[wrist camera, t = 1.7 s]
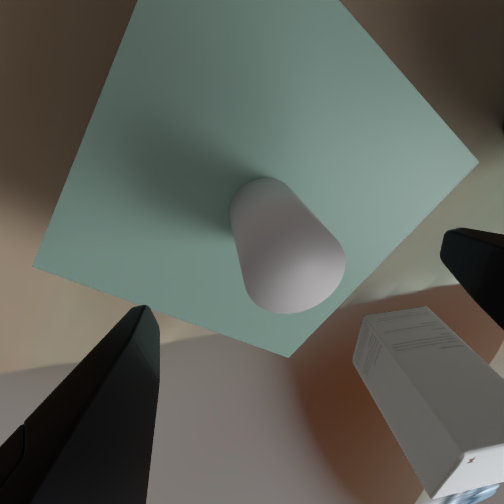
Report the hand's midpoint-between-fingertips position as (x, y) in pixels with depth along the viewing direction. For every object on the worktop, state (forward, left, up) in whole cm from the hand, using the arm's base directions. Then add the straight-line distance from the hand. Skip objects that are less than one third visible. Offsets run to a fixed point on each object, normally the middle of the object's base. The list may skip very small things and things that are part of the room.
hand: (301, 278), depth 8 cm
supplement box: (-23, +6, -13) cm, 27 cm away
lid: (0, 0, -6) cm, 6 cm away
